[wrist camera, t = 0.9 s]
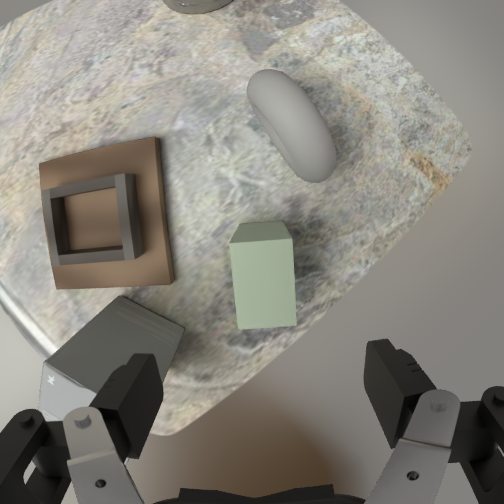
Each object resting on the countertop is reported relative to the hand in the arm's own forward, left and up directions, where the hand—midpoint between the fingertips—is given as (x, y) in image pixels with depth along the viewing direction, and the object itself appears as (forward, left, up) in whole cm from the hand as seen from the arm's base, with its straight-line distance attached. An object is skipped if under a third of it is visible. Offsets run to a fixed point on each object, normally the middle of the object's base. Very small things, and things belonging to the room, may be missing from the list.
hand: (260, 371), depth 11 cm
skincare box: (+8, -13, -20) cm, 25 cm away
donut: (-11, +3, -20) cm, 23 cm away
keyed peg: (0, 0, -20) cm, 20 cm away
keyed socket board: (-5, -16, -20) cm, 26 cm away
